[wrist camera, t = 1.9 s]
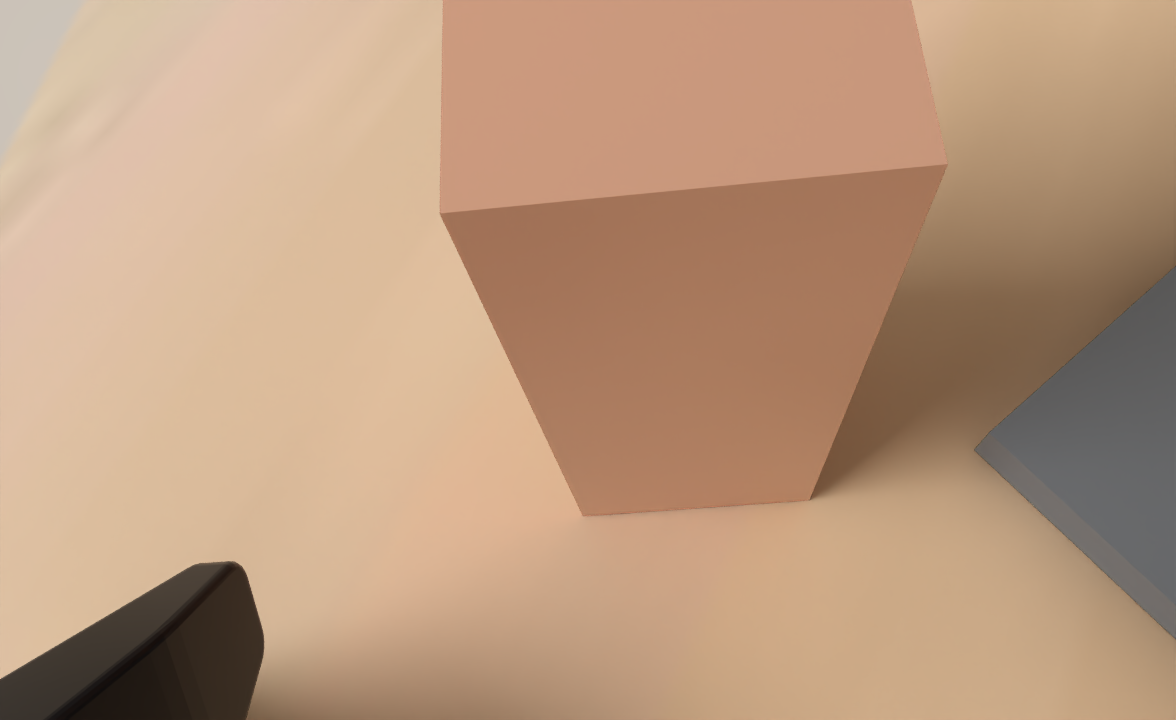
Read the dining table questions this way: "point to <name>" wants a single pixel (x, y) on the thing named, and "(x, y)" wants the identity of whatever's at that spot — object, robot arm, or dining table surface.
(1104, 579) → the dining table surface
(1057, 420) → the charcoal plate
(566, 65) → the terracotta sleeve
